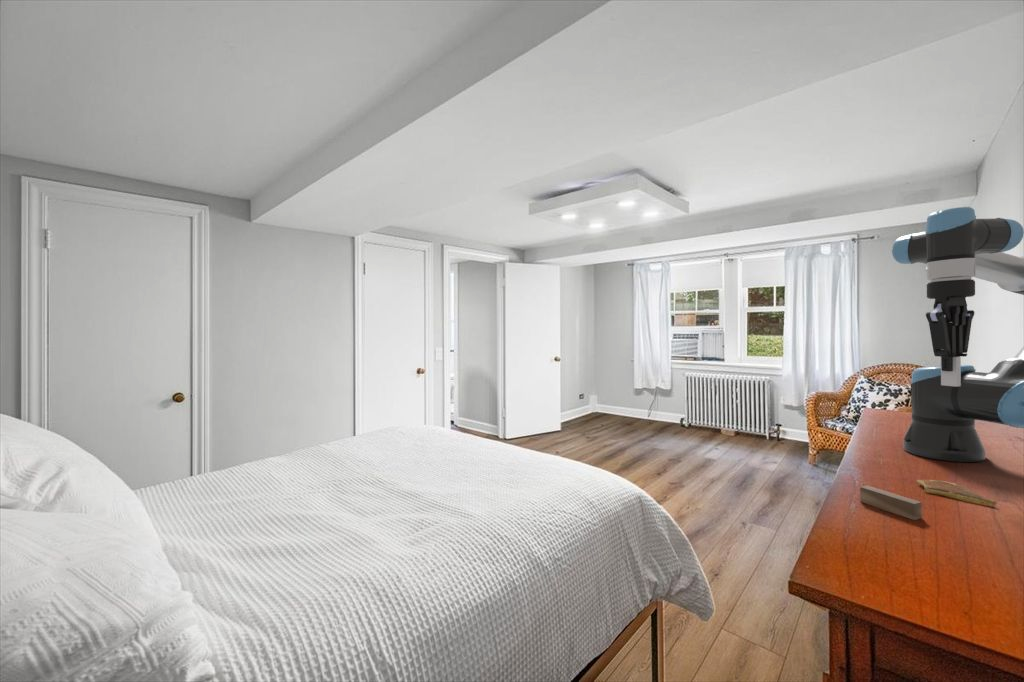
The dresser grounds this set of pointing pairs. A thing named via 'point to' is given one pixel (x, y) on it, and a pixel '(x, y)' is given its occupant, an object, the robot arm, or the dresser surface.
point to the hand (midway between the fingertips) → (950, 385)
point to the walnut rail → (891, 502)
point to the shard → (954, 491)
